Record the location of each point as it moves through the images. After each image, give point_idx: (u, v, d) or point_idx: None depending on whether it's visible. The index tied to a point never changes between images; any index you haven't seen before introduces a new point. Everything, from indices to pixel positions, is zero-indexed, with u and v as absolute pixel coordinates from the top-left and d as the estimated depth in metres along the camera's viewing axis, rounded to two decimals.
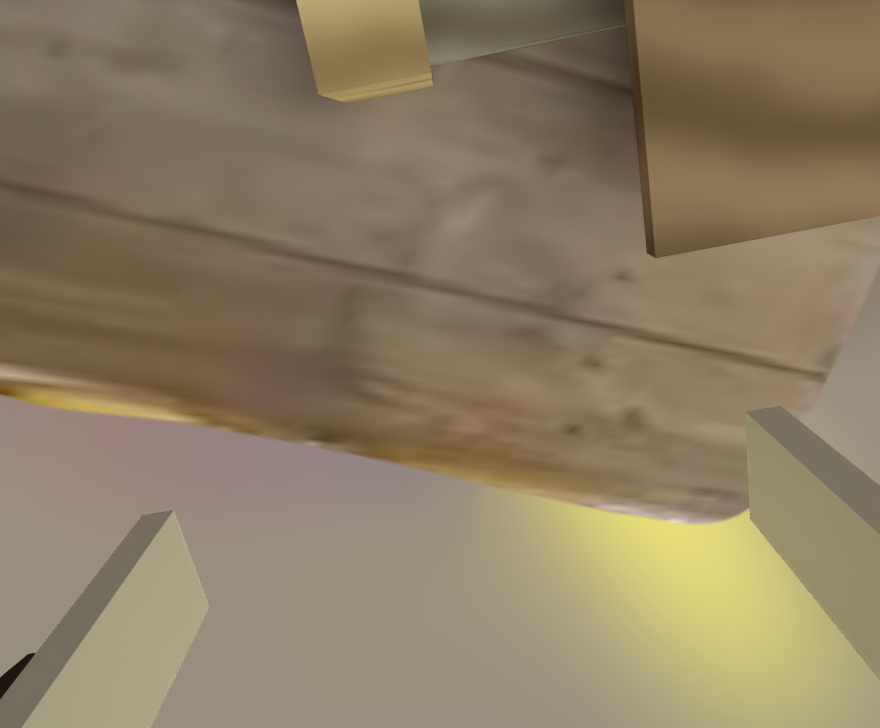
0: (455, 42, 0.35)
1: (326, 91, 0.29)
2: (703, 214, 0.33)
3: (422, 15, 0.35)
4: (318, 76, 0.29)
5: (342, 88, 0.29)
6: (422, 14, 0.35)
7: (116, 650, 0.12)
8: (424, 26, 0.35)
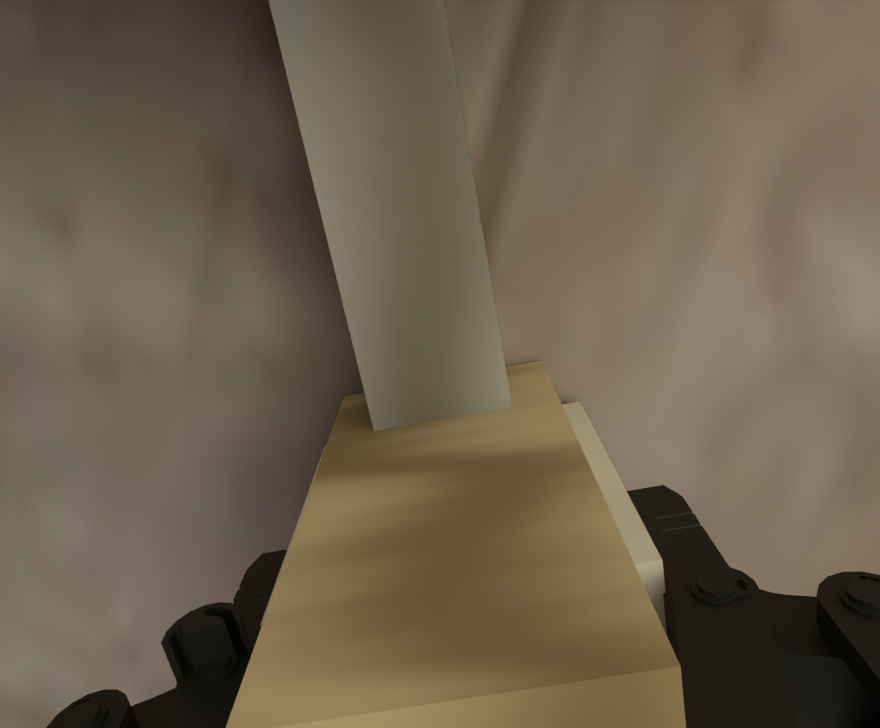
0: (467, 343, 0.14)
1: None
2: None
3: (405, 420, 0.14)
4: None
5: None
6: (403, 421, 0.14)
7: None
8: (430, 417, 0.14)
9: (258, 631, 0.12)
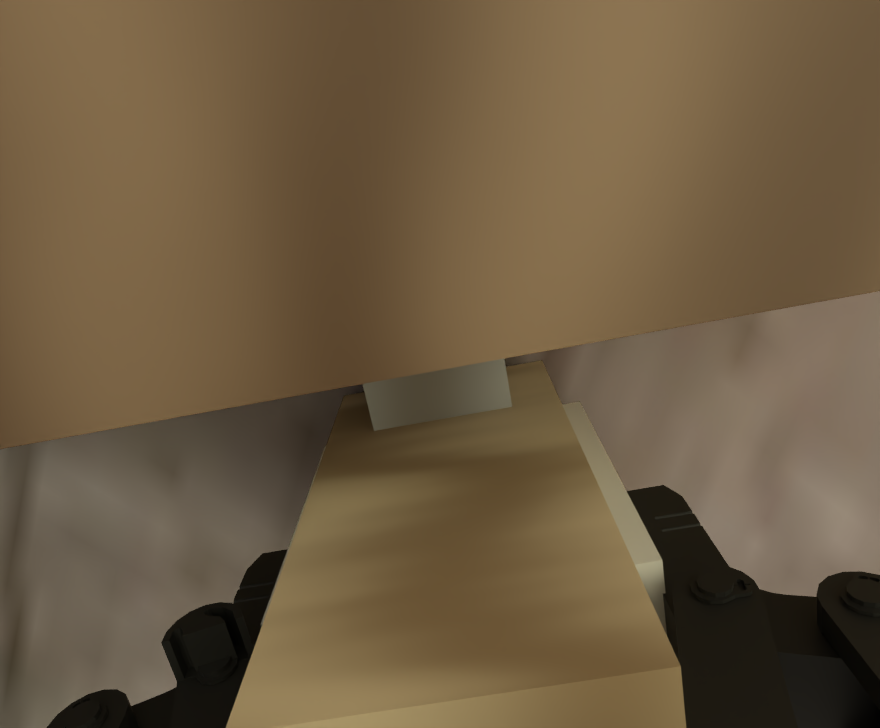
0: None
1: None
2: None
3: (406, 420, 0.14)
4: None
5: None
6: (404, 421, 0.14)
7: None
8: (430, 417, 0.14)
9: (258, 631, 0.12)
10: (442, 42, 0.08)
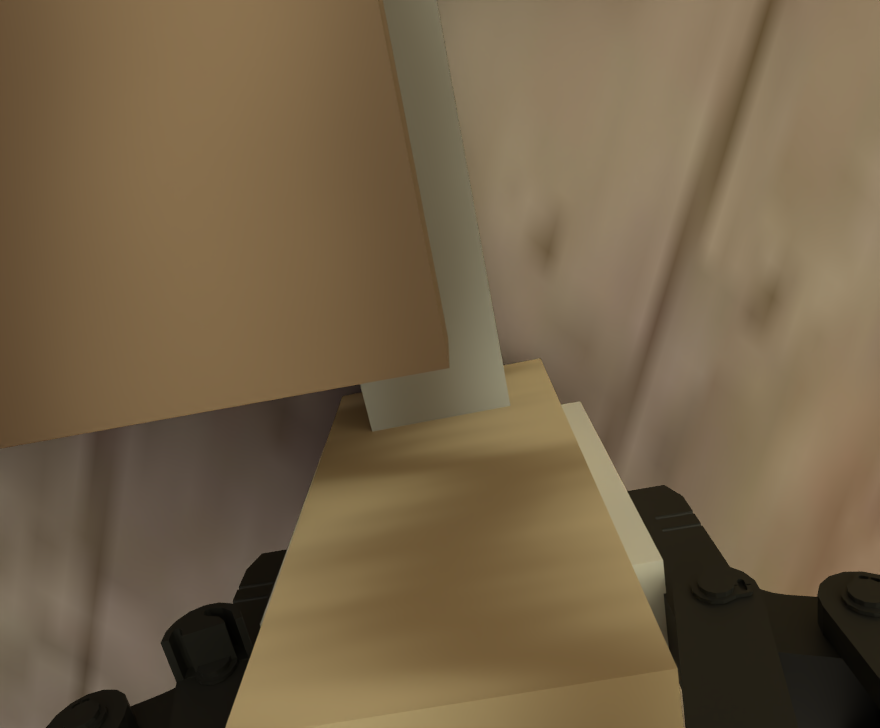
0: (465, 342, 0.14)
1: None
2: (289, 217, 0.09)
3: (404, 421, 0.14)
4: None
5: None
6: (402, 421, 0.14)
7: None
8: (428, 417, 0.14)
9: (258, 631, 0.12)
10: None
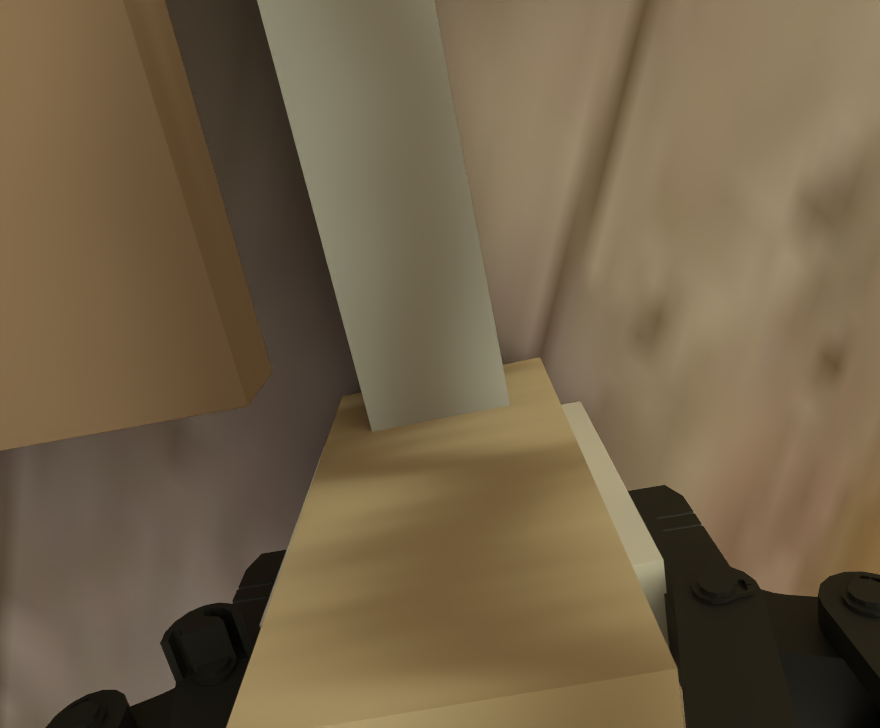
0: (464, 341, 0.14)
1: None
2: (72, 259, 0.09)
3: (404, 420, 0.14)
4: None
5: None
6: (401, 421, 0.14)
7: None
8: (428, 417, 0.14)
9: (257, 631, 0.12)
10: None
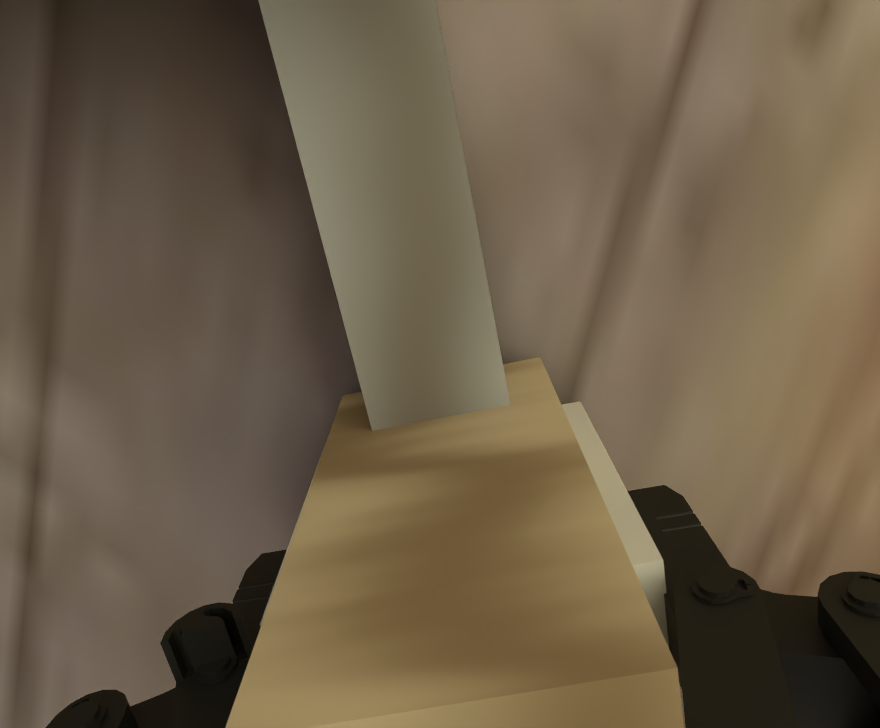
0: (464, 341, 0.14)
1: None
2: None
3: (404, 420, 0.14)
4: None
5: None
6: (402, 420, 0.14)
7: None
8: (428, 416, 0.14)
9: (257, 631, 0.12)
10: None
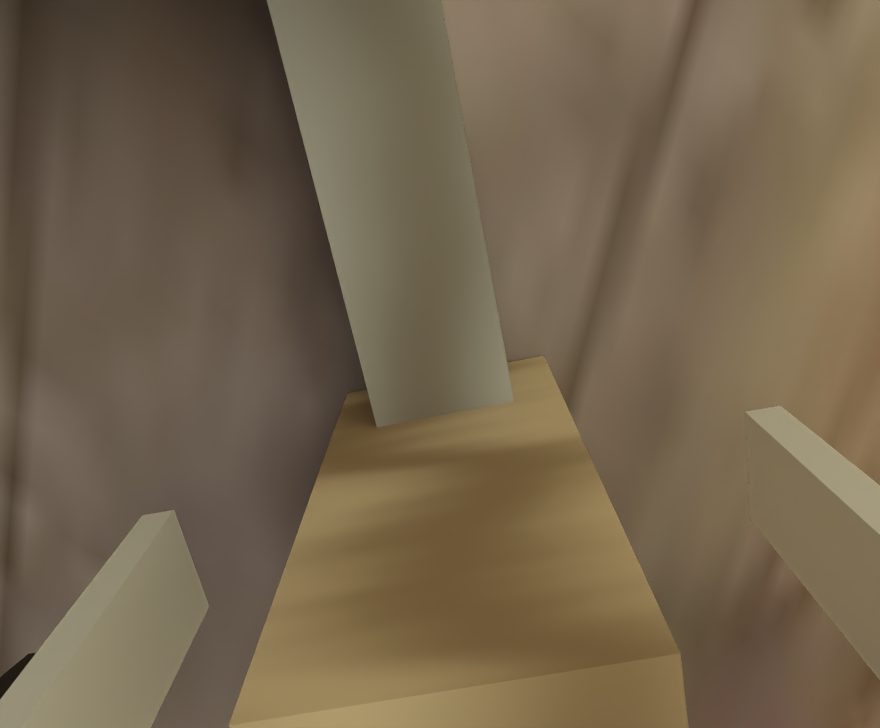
0: (469, 338, 0.14)
1: None
2: None
3: (408, 416, 0.14)
4: None
5: None
6: (406, 417, 0.14)
7: (116, 650, 0.12)
8: (432, 413, 0.14)
9: None
10: None
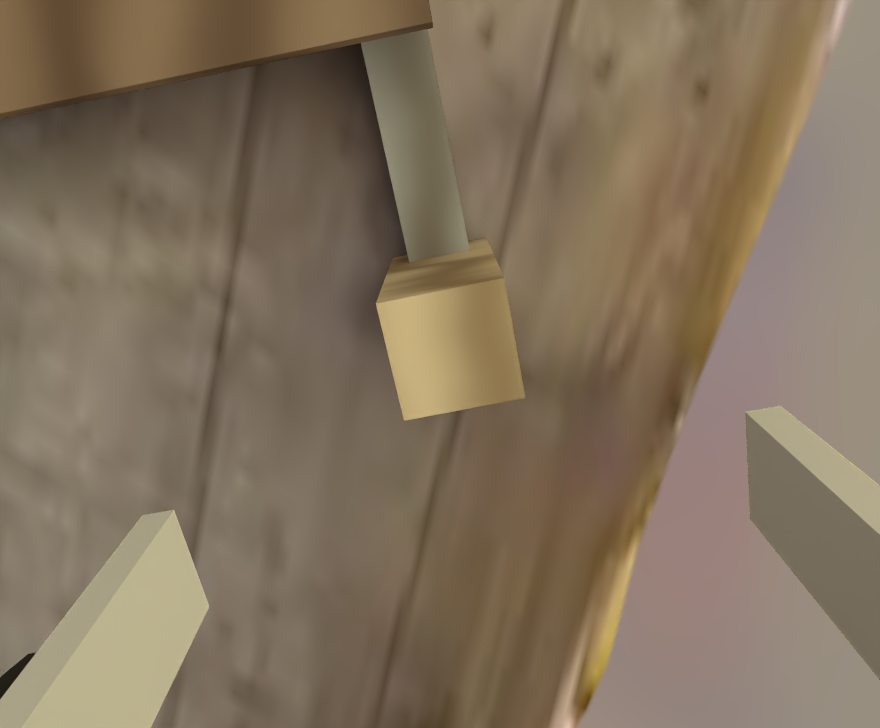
0: (449, 220, 0.32)
1: (522, 389, 0.27)
2: None
3: (423, 257, 0.33)
4: (507, 396, 0.27)
5: (519, 372, 0.27)
6: (422, 257, 0.33)
7: (116, 650, 0.12)
8: (433, 255, 0.33)
9: None
10: None
